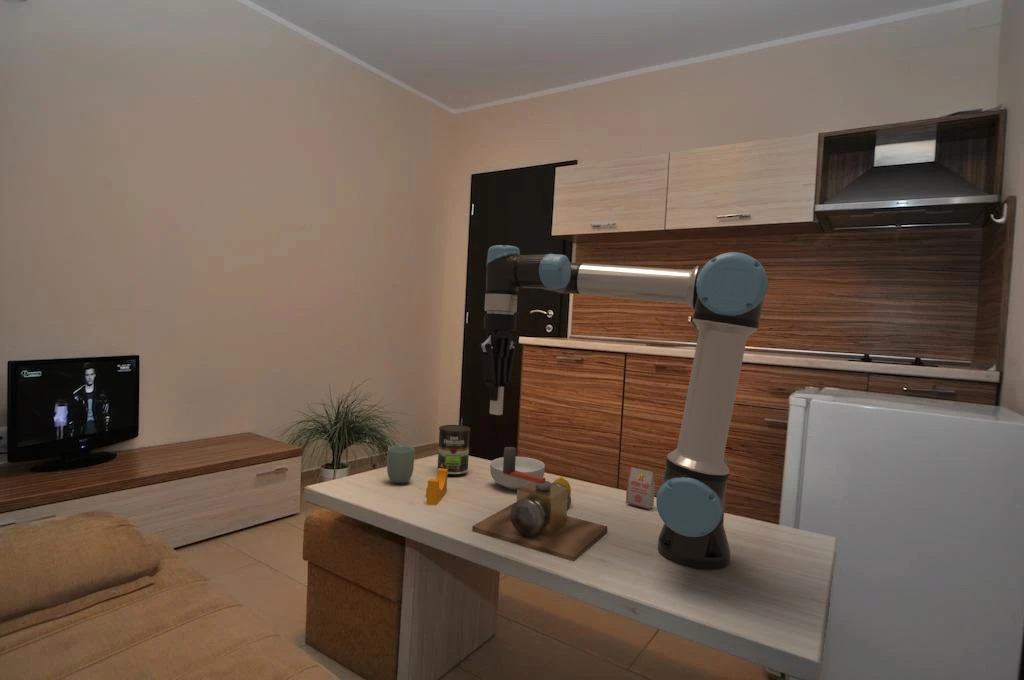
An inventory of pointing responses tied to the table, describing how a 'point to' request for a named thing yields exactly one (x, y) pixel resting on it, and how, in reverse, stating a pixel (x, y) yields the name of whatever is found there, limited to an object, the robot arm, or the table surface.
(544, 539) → the mount board
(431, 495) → the orange arch block
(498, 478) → the cereal bowl
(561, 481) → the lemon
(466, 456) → the coffee can
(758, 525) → the table surface
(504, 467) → the lever
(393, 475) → the cup
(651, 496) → the white red food package
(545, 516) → the valve
